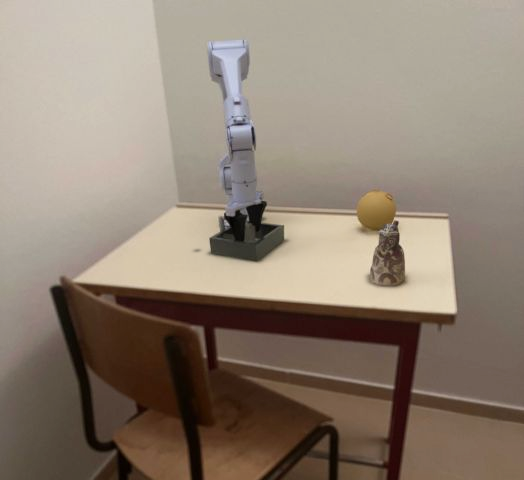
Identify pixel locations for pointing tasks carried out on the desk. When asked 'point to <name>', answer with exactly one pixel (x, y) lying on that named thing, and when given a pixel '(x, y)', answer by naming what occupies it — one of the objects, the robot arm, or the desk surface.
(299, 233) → the desk surface
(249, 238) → the lighter
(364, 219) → the stress ball
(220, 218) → the sink
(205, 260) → the desk surface
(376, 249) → the figurine
